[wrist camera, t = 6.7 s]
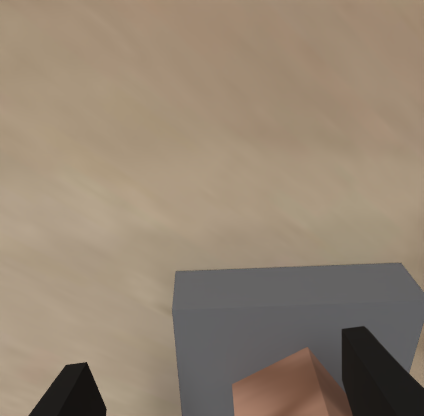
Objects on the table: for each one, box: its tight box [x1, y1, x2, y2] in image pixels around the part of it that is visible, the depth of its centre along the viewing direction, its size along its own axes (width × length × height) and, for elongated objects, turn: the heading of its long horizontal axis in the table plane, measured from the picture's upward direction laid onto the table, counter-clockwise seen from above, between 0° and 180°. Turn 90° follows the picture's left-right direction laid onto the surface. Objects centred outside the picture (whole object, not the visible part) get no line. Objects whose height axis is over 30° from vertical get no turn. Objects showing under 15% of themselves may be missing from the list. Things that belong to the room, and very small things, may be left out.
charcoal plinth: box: [172, 263, 424, 416], centre depth 23 cm, size 12×12×3 cm
